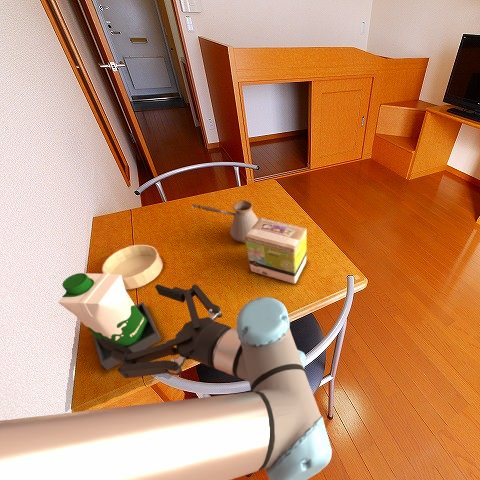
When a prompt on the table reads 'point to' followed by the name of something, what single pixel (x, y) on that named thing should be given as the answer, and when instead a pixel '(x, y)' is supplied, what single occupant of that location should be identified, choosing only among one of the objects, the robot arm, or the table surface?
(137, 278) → the bowl
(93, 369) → the table surface
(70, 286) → the milk carton
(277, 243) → the tea box
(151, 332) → the tray
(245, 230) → the coffee pot
